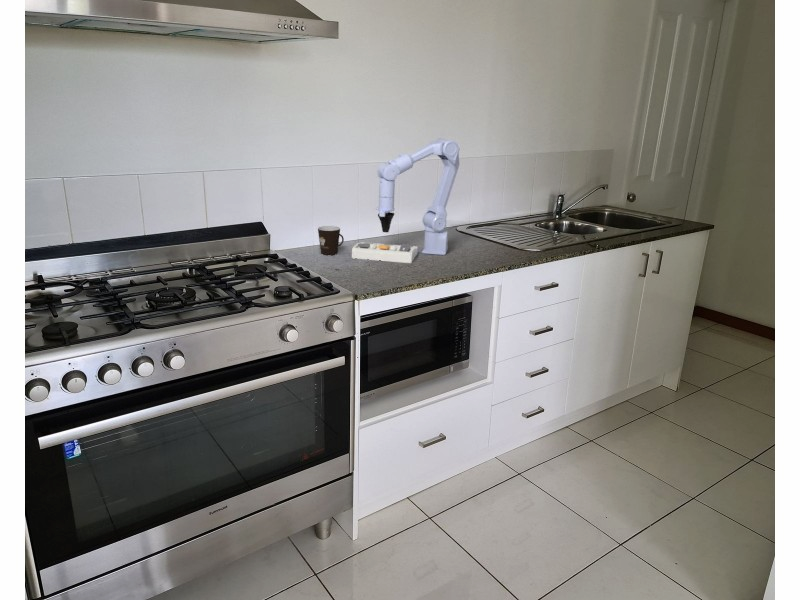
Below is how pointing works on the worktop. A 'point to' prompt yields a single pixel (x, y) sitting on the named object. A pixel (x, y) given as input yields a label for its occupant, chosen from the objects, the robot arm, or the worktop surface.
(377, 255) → the power strip
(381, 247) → the rocker middle
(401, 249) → the rocker
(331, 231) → the coffee mug
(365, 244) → the rocker
